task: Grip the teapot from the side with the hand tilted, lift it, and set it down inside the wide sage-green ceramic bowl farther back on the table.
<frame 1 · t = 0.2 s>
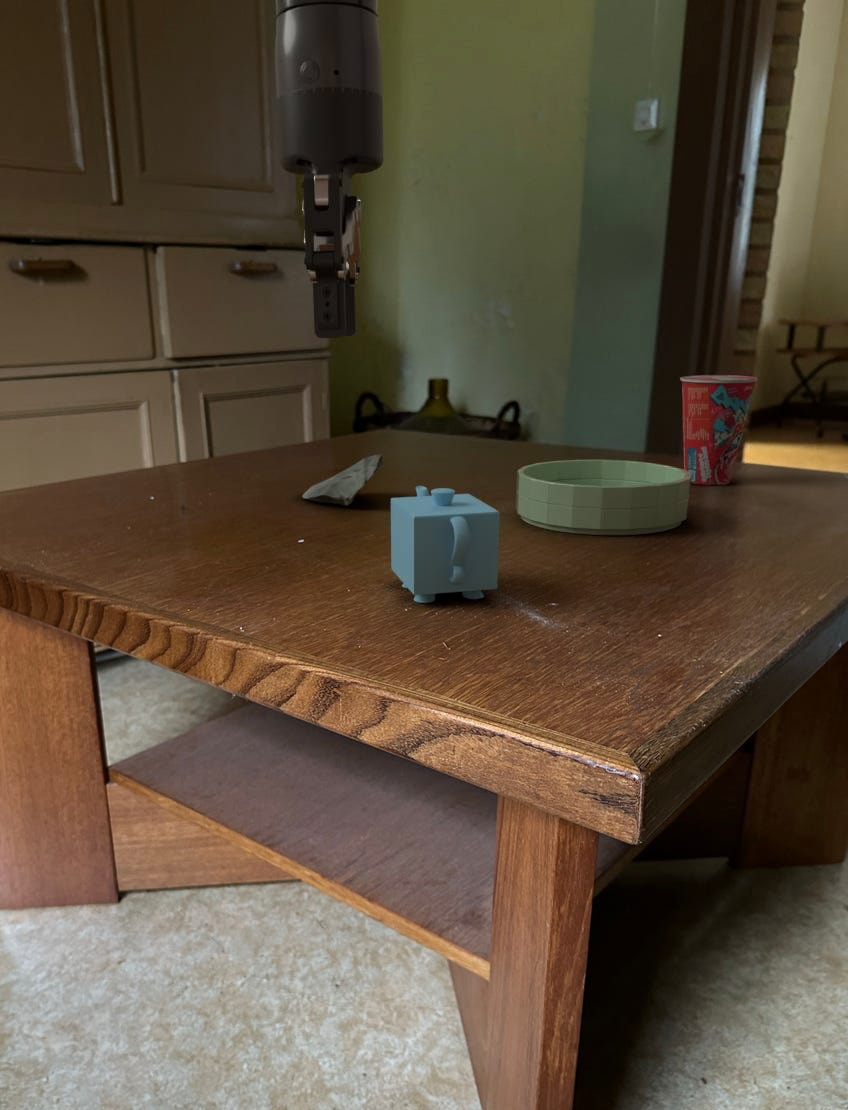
hand: (336, 336, 70), 18 cm above the table, tool pointing down, fingers open, 8 cm apart
stone: (339, 502, 101), on the table
cup: (705, 482, 109), on the table
teapot: (438, 589, 68), on the table
serving bowl: (599, 517, 91), on the table
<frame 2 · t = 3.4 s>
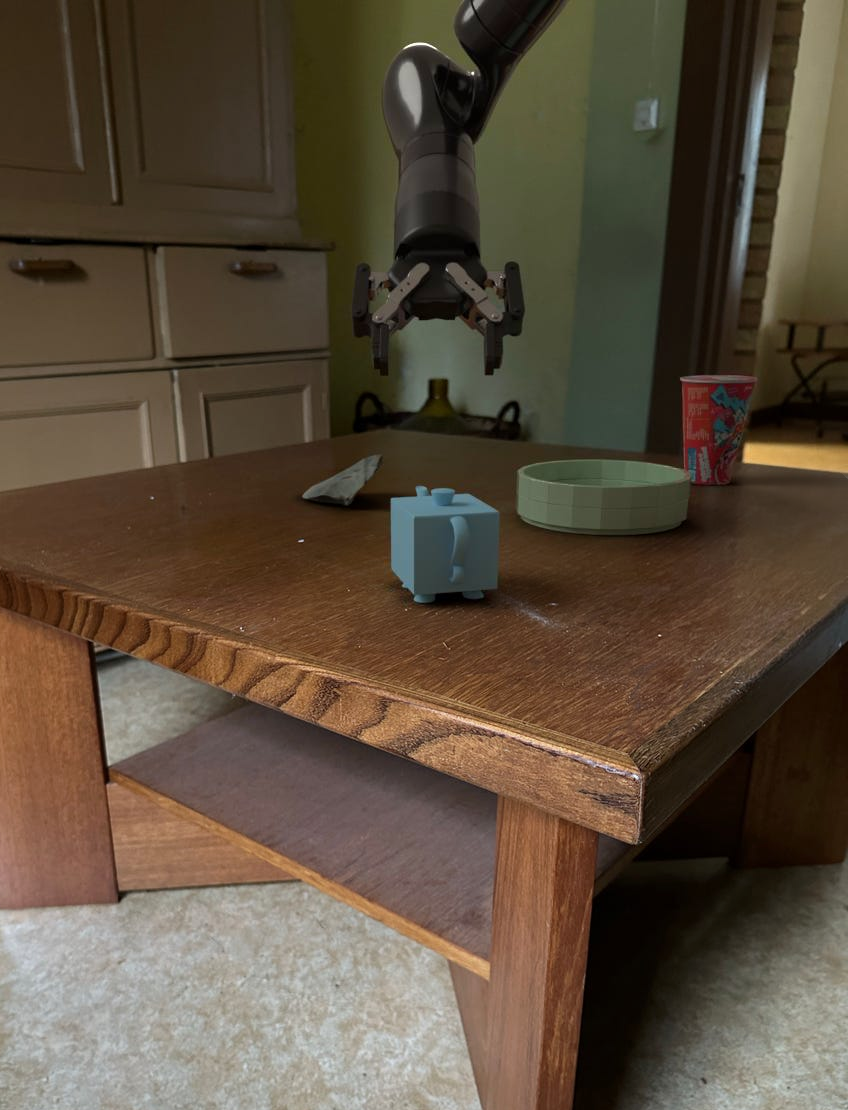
hand: (437, 369, 74), 15 cm above the table, tool tilted 45°, fingers open, 8 cm apart
nothing on the table moved.
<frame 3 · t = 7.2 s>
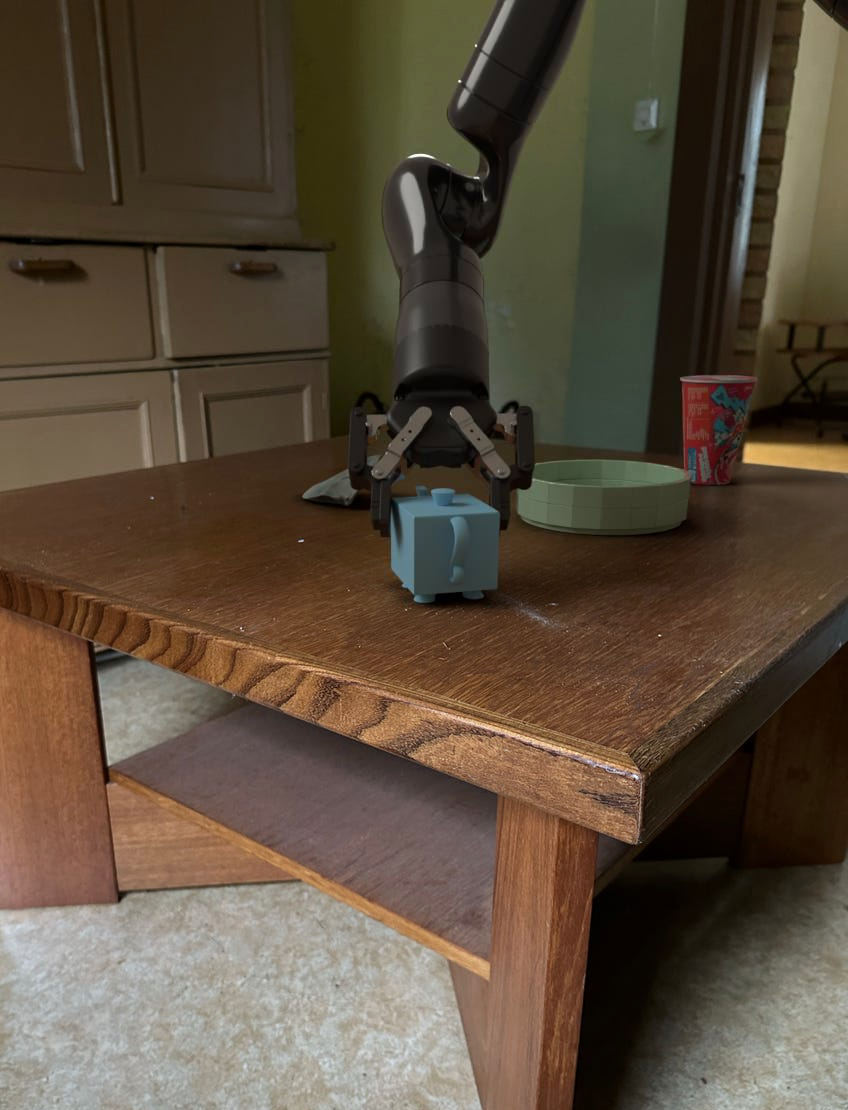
hand: (440, 531, 65), 5 cm above the table, tool tilted 45°, fingers closed on teapot, 7 cm apart
teapot: (438, 589, 68), on the table, touching gripper
everything else where it was.
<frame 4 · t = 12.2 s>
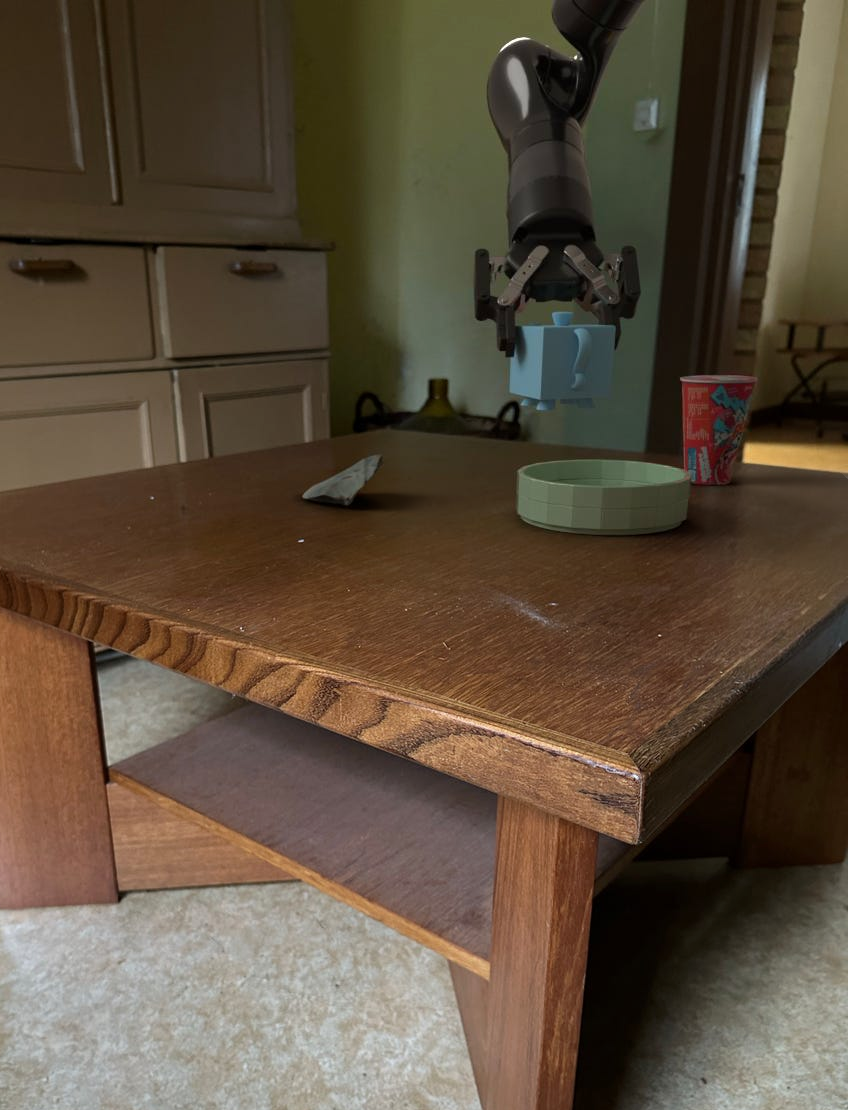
hand: (559, 349, 75), 16 cm above the table, tool tilted 45°, fingers closed on teapot, 7 cm apart
teapot: (553, 407, 78), point 12 cm above the table, touching gripper
everything else where it was.
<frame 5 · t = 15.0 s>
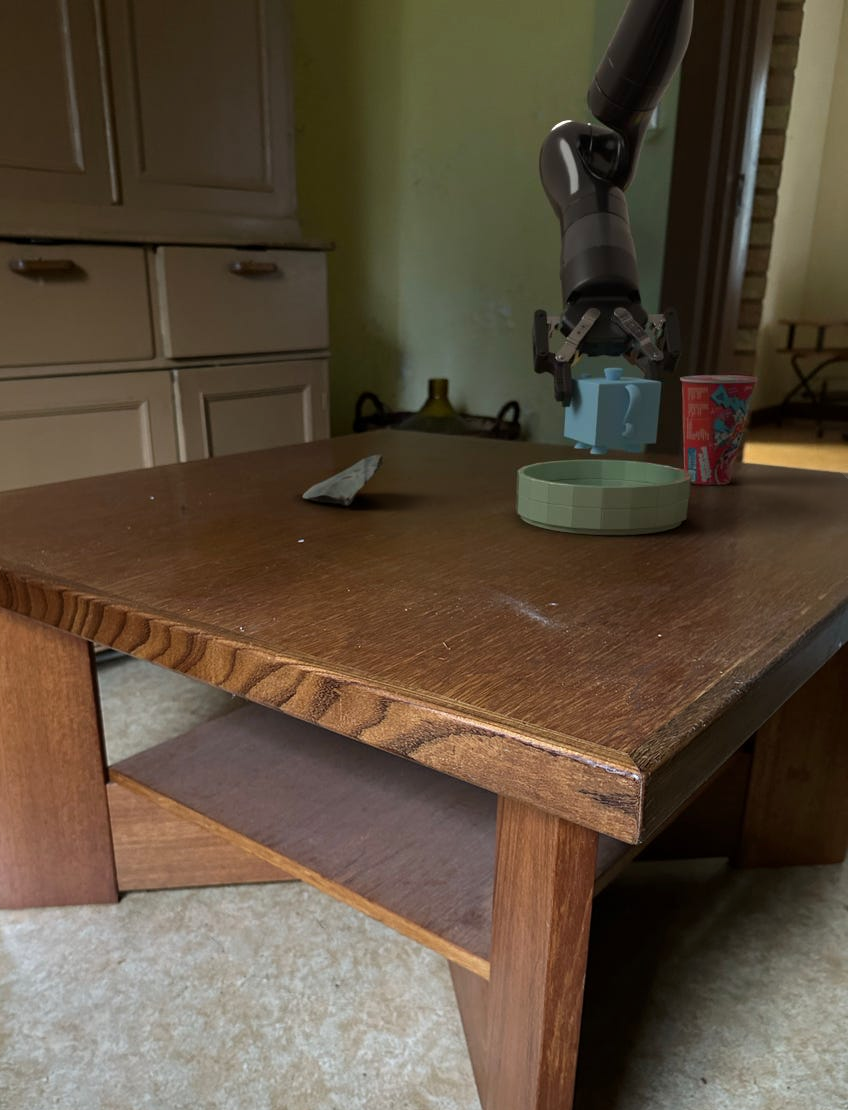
hand: (610, 401, 86), 11 cm above the table, tool tilted 45°, fingers closed on teapot, 7 cm apart
teapot: (603, 450, 88), point 7 cm above the table, touching gripper
everything else where it was.
when the fingers open (5 cm above the table, at t = 17.4 s): teapot stays where it is, resting on serving bowl.
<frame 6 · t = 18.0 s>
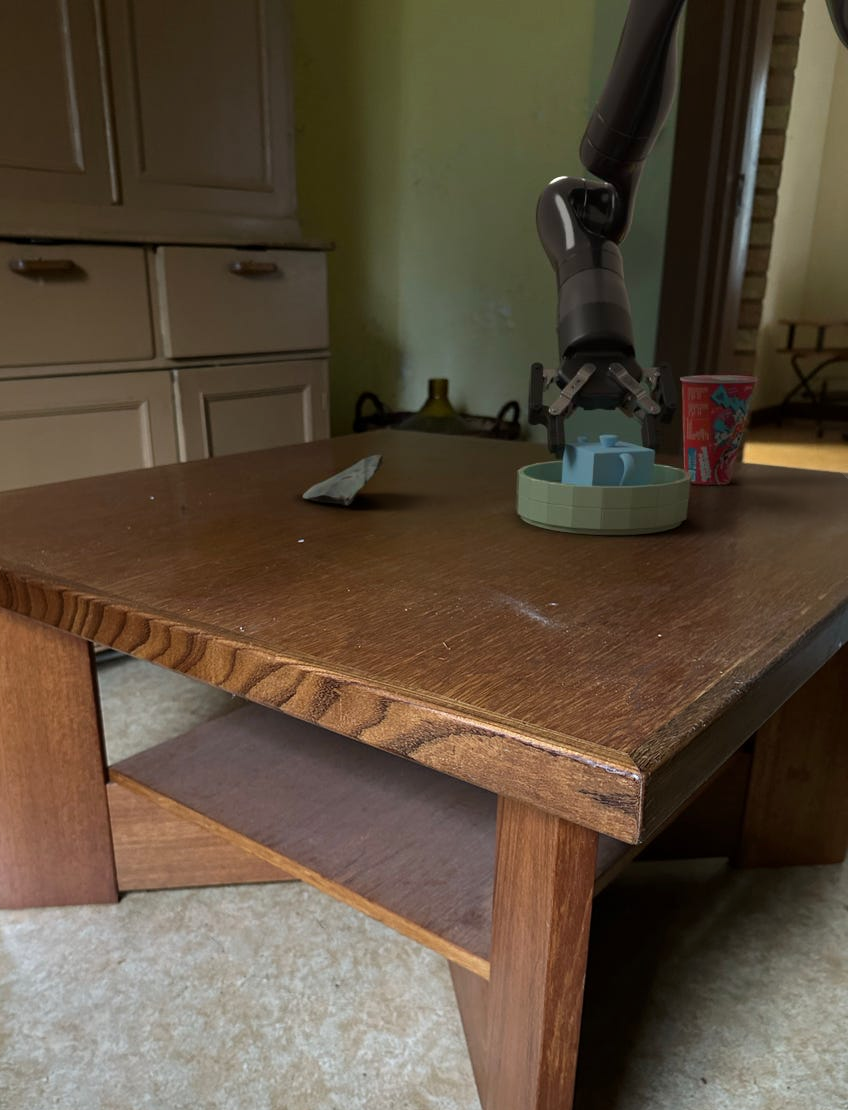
hand: (605, 454, 88), 6 cm above the table, tool tilted 45°, fingers open, 8 cm apart
teapot: (599, 513, 91), resting on serving bowl
everything else where it was.
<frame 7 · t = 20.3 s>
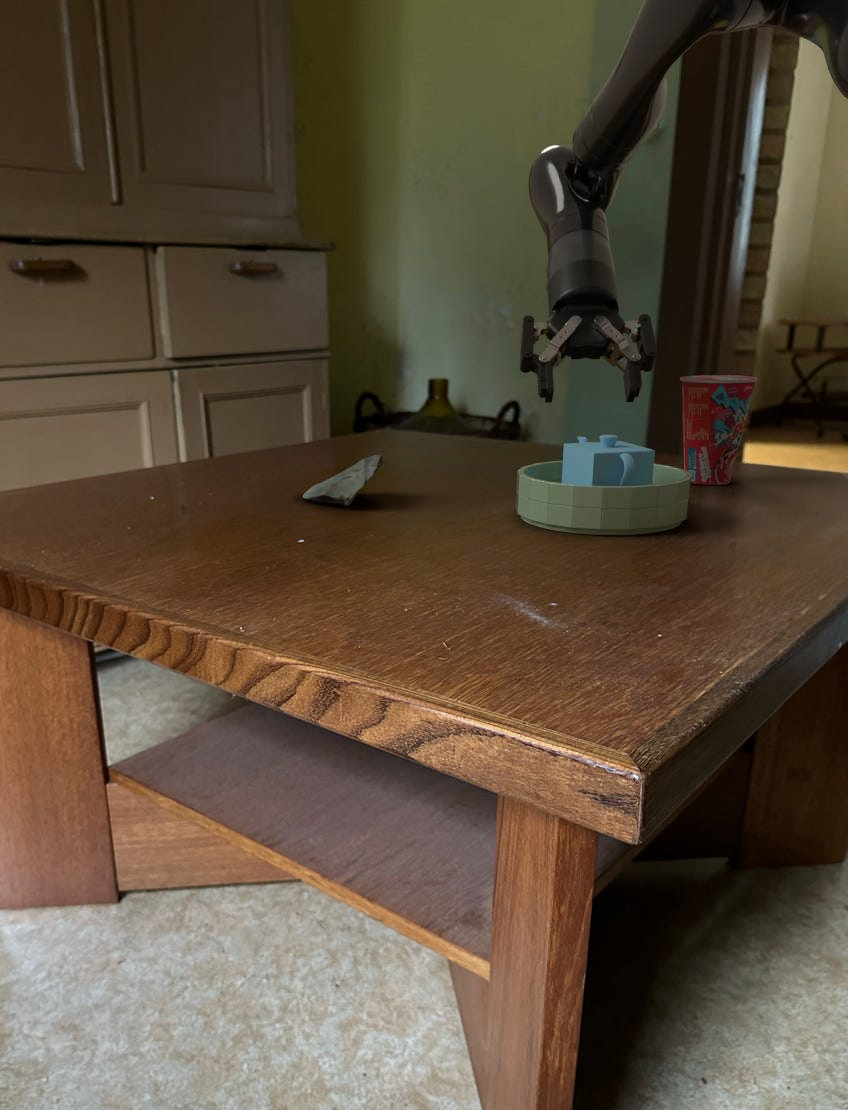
hand: (590, 397, 96), 11 cm above the table, tool tilted 45°, fingers open, 8 cm apart
nothing on the table moved.
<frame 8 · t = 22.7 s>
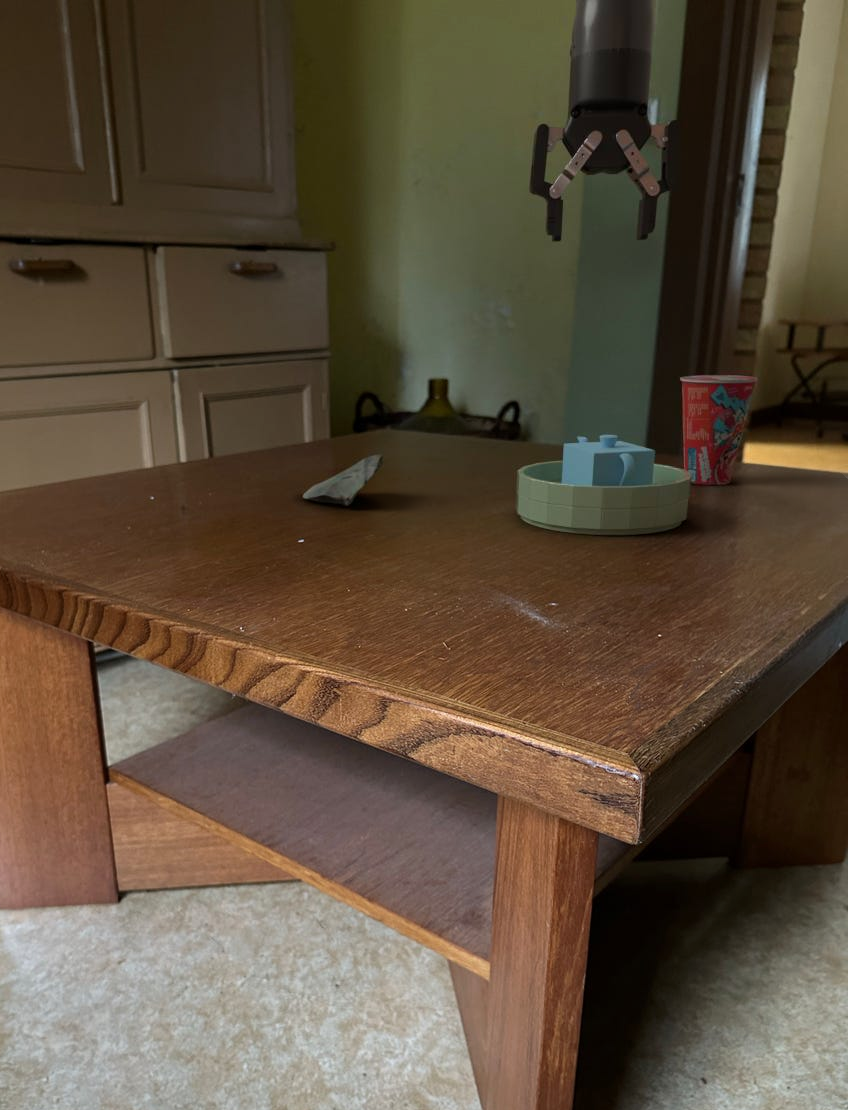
hand: (599, 240, 92), 26 cm above the table, tool pointing down, fingers open, 8 cm apart
nothing on the table moved.
at the end: teapot inside the target area in the serving bowl (0.1 cm from its centre), point 0.4 cm above the serving bowl's base; teapot tilted 0°; the gripper is holding nothing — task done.
